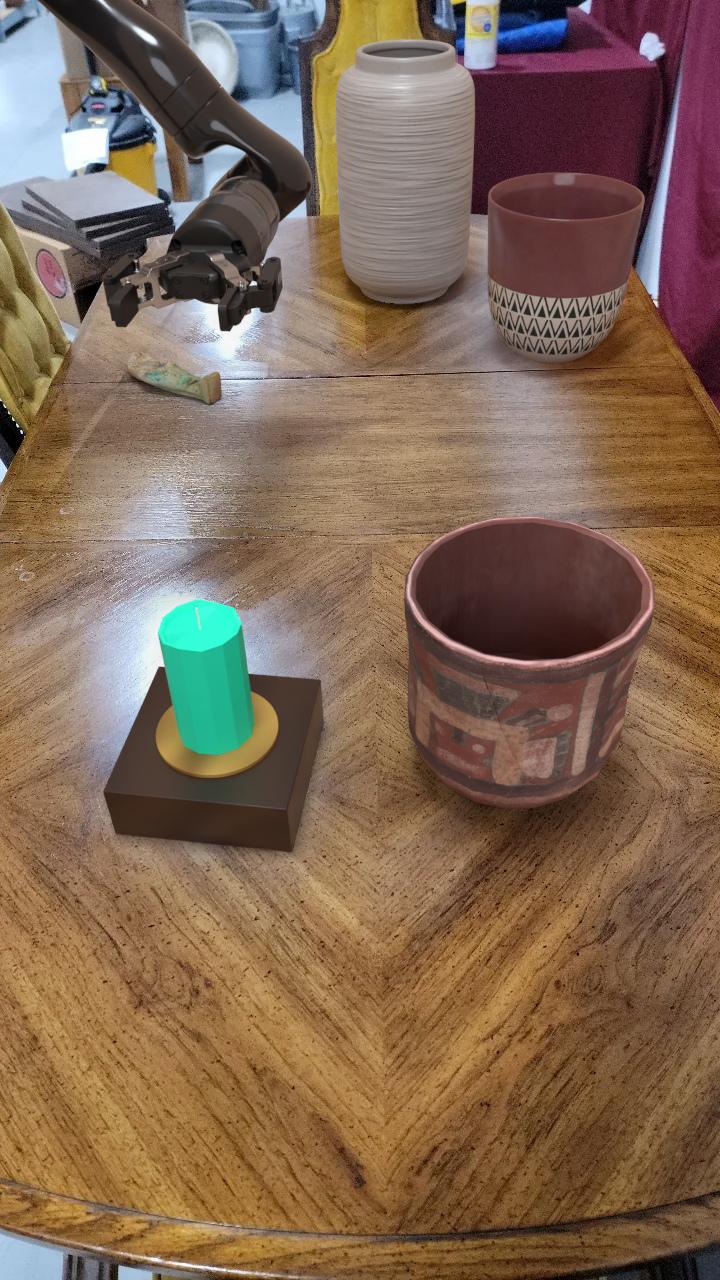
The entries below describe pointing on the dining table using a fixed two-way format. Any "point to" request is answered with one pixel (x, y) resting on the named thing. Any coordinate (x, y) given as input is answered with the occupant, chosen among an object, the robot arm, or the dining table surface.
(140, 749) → the stand
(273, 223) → the robot arm
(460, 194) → the vase
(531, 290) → the planter
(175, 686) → the candle
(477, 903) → the dining table surface
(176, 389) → the figurine
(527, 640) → the pottery
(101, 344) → the dining table surface
